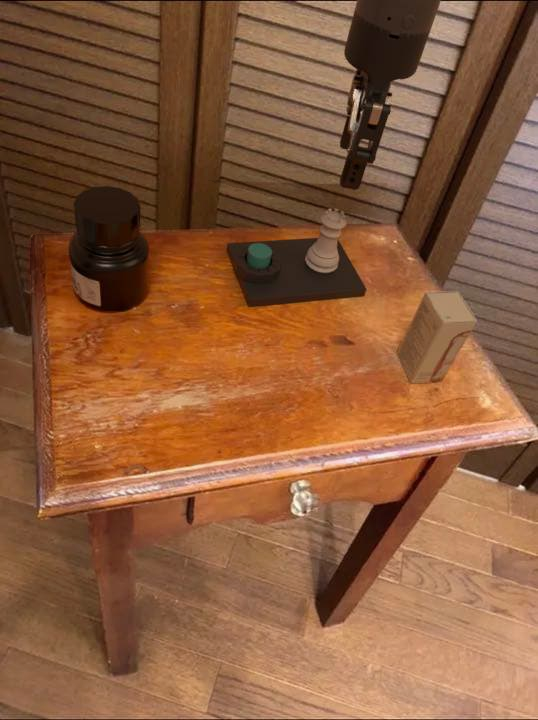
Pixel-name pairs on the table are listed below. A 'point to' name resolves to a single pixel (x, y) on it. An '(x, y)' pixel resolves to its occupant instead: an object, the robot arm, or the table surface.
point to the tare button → (259, 255)
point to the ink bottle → (108, 250)
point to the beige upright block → (435, 336)
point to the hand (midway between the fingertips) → (348, 167)
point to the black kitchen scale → (292, 275)
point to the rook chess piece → (326, 243)
